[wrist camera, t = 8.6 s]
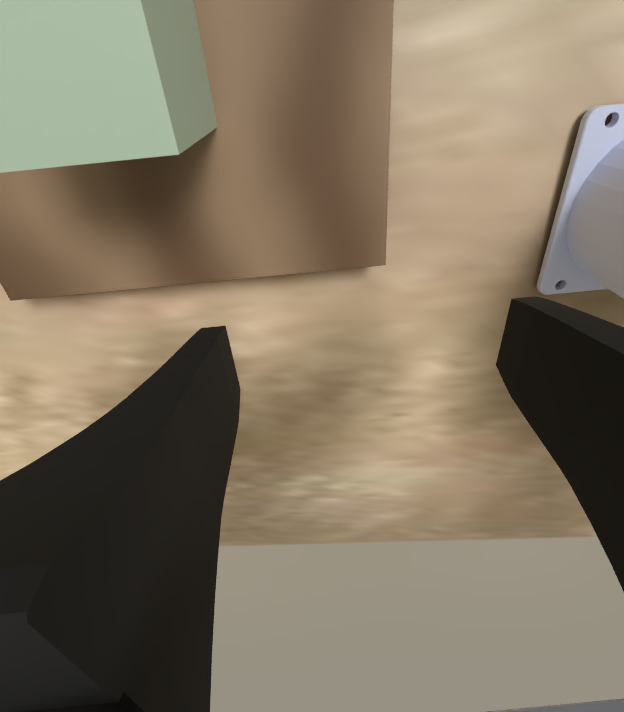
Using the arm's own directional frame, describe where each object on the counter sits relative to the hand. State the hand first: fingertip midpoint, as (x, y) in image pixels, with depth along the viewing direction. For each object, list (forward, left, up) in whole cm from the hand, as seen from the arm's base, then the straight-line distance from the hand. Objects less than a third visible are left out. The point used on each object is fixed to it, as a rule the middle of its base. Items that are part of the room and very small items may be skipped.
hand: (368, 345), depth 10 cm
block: (+6, -7, -7) cm, 12 cm away
